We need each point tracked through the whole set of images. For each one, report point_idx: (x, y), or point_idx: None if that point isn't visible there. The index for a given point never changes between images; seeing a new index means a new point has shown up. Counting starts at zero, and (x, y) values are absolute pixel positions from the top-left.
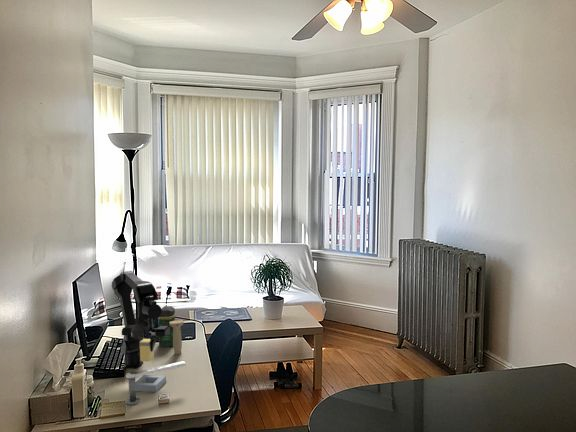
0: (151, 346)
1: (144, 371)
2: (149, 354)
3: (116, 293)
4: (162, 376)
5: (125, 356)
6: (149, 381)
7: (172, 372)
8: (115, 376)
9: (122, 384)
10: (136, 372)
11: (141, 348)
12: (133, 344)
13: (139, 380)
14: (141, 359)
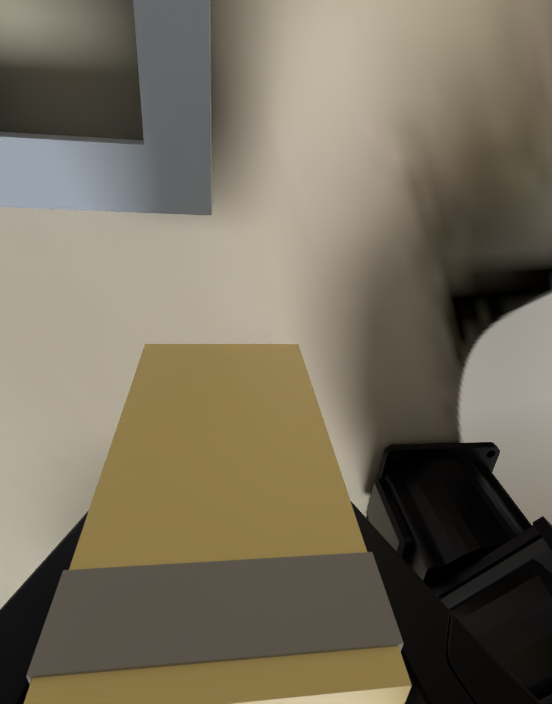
0: (48, 587)
1: None
2: (125, 416)
3: None
4: None
5: (526, 526)
6: (112, 138)
7: (35, 407)
8: (525, 285)
9: (413, 85)
10: None
11: (304, 496)
12: (521, 649)
13: (178, 5)
14: (282, 355)
